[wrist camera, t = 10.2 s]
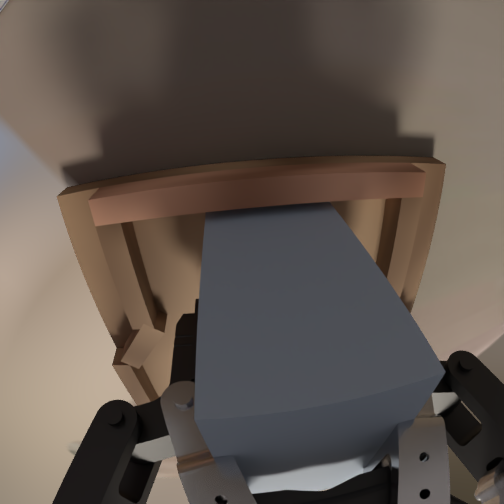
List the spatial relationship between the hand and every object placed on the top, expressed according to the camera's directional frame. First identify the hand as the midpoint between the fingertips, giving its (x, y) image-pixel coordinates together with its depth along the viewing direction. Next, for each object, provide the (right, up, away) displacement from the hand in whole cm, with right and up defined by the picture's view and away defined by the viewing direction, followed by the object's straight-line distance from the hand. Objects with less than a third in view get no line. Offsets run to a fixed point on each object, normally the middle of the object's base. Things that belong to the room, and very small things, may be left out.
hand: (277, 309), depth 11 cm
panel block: (0, +1, +2) cm, 2 cm away
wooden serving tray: (0, -3, +5) cm, 6 cm away
